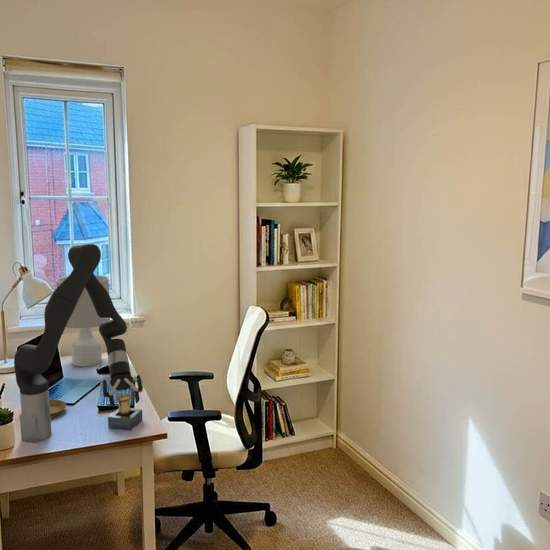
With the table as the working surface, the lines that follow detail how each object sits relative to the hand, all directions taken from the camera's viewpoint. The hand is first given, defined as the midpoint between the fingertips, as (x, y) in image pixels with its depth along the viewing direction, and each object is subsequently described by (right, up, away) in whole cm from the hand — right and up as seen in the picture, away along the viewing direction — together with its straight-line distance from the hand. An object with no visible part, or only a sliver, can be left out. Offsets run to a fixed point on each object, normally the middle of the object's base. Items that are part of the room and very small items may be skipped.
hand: (125, 404), depth 198 cm
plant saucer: (-34, -7, +12) cm, 37 cm away
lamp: (-39, +4, +72) cm, 82 cm away
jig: (-1, -8, +3) cm, 9 cm away
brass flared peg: (-1, -8, +3) cm, 9 cm away
